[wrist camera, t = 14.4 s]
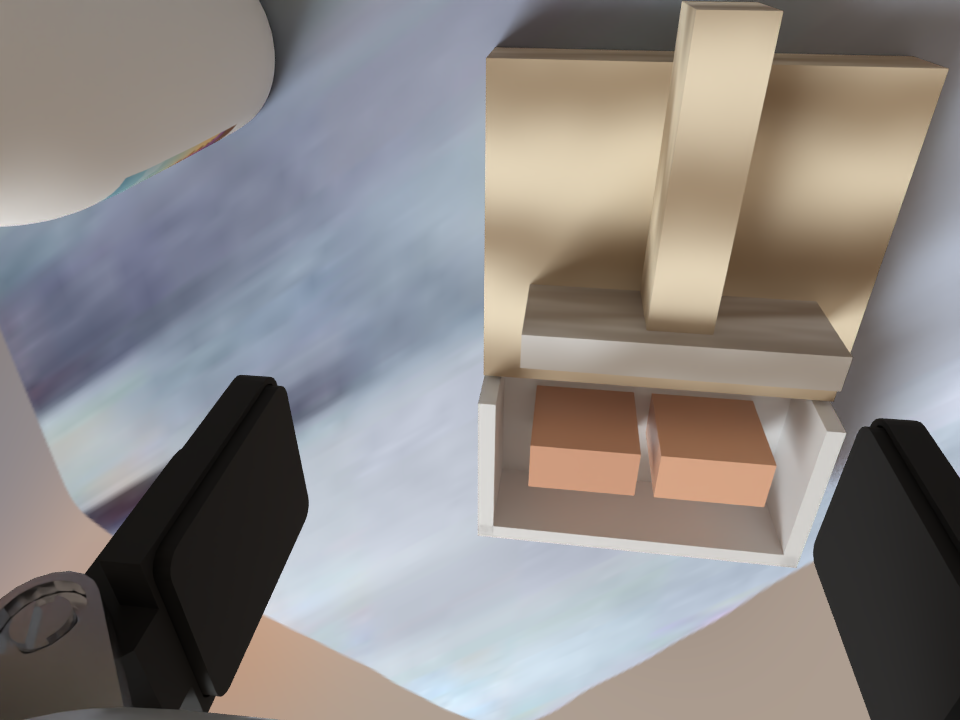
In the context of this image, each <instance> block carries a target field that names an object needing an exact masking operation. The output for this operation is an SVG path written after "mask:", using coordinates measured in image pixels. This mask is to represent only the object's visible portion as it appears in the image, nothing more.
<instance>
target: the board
mask: <svg viewBox="0 0 960 720" xmlns="http://www.w3.org/2000/svg"><path fill="white" fill-rule="evenodd" d="M674 53H675V51H645V50H598V49H551V48H504V47H495V48H494V49H493V51H492V52H491V53H490V54H489V55H488V56H487V58H486V149H485V278H484V375H488V376H501V377H515V378H528V379H541V380H555V381H568V382H581V383H595V384H608V385H621V386H634V387H648V388H661V389H674V390H688V391H701V392H714V393H728V394H741V395H754V396H768V397H781V398H794V399H807V400H821V401H834V399H835V396H836V393H837V391H825V390H811V389H798V388H784V387H771V386H757V385H744V384H730V383H717V382H703V381H690V380H676V379H663V378H649V377H636V376H622V375H608V374H595V373H581V372H568V371H554V370H541V369H527V368H520V361H521V338H522V329H523V323H524V317H525V310H526V304H527V298H528V292H529V285H530V284H535V285H552V286H569V287H585V288H602V289H618V290H635V291H640V288H641V281H642V274H643V267H644V260H645V254H646V247H647V240H648V233H649V226H650V219H651V212H652V205H653V198H654V191H655V184H656V177H657V171H658V164H659V157H660V150H661V143H662V136H663V129H664V122H665V115H666V108H667V101H668V94H669V87H670V81H671V74H672V67H673V60H674ZM948 70H949V69H948V68H945V67H943V66H940V65H937V64H934V63H931V62H928V61H925V60H922V59H919V58H916V57H914V56H879V55H832V54H785V53H774V57H773V61H772V66H771V71H770V75H769V80H768V85H767V89H766V94H765V98H764V103H763V108H762V112H761V117H760V121H759V126H758V131H757V135H756V140H755V144H754V149H753V154H752V158H751V163H750V168H749V172H748V177H747V181H746V186H745V191H744V195H743V200H742V204H741V209H740V214H739V218H738V223H737V227H736V232H735V237H734V241H733V246H732V251H731V255H730V260H729V264H728V269H727V274H726V278H725V283H724V287H723V292H722V296H735V297H751V298H768V299H785V300H801V301H817V303H818V304H819V306H820V308H821V309H822V311H823V312H824V314H825V315H826V317H827V318H828V320H829V321H830V323H831V324H832V326H833V328H834V329H835V331H836V332H837V334H838V335H839V337H840V338H841V340H842V341H843V343H844V345H845V346H846V348H847V349H848V351H849V352H851V350H852V347H853V344H854V341H855V338H856V335H857V332H858V329H859V326H860V324H861V321H862V318H863V315H864V312H865V309H866V306H867V303H868V301H869V298H870V295H871V292H872V289H873V286H874V283H875V280H876V277H877V275H878V272H879V269H880V266H881V263H882V260H883V257H884V254H885V252H886V249H887V246H888V243H889V240H890V237H891V234H892V231H893V228H894V226H895V223H896V220H897V217H898V214H899V211H900V208H901V205H902V203H903V200H904V197H905V194H906V191H907V188H908V185H909V182H910V179H911V177H912V174H913V171H914V168H915V165H916V162H917V159H918V156H919V154H920V151H921V148H922V145H923V142H924V139H925V136H926V133H927V130H928V128H929V125H930V122H931V119H932V116H933V113H934V110H935V107H936V104H937V102H938V99H939V96H940V93H941V90H942V87H943V84H944V81H945V79H946V76H947V73H948Z"/></svg>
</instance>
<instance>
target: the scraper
mask: <svg viewBox="0 0 960 720" xmlns="http://www.w3.org/2000/svg"><path fill="white" fill-rule="evenodd" d="M782 15H783V11H782V10H779V9H776V8H773V7H770V6H767V5H764V4H761V3H759V2H711V1H682V4H681V11H680V18H679V25H678V32H677V39H676V46H675V53H674V60H673V67H672V74H671V81H670V87H669V94H668V101H667V108H666V115H665V122H664V129H663V136H662V143H661V150H660V157H659V164H658V171H657V177H656V184H655V191H654V198H653V205H652V212H651V219H650V226H649V233H648V240H647V247H646V254H645V260H644V267H643V274H642V281H641V288H640V291H635V290H618V289H602V288H585V287H569V286H552V285H535V284H530V285H529V292H528V298H527V304H526V310H525V317H524V323H523V329H522V338H521V361H520V368H527V369H541V370H554V371H568V372H581V373H595V374H608V375H622V376H636V377H649V378H663V379H676V380H690V381H703V382H717V383H730V384H744V385H757V386H771V387H784V388H798V389H811V390H825V391H838V392H841V390H842V387H843V384H844V381H845V379H846V376H847V373H848V370H849V367H850V364H851V362H852V359H853V357H852V355H851V354H850V352H849V351H848V349H847V348H846V346H845V345H844V343H843V341H842V340H841V338H840V337H839V335H838V334H837V332H836V331H835V329H834V328H833V326H832V324H831V323H830V321H829V320H828V318H827V317H826V315H825V314H824V312H823V311H822V309H821V308H820V306H819V304H818V303H817V301H801V300H785V299H768V298H751V297H735V296H722V292H723V287H724V283H725V278H726V274H727V269H728V264H729V260H730V255H731V251H732V246H733V241H734V237H735V232H736V227H737V223H738V218H739V214H740V209H741V204H742V200H743V195H744V191H745V186H746V181H747V177H748V172H749V168H750V163H751V158H752V154H753V149H754V144H755V140H756V135H757V131H758V126H759V121H760V117H761V112H762V108H763V103H764V98H765V94H766V89H767V85H768V80H769V75H770V71H771V66H772V61H773V57H774V52H775V48H776V43H777V38H778V34H779V29H780V25H781V20H782Z"/></svg>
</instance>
